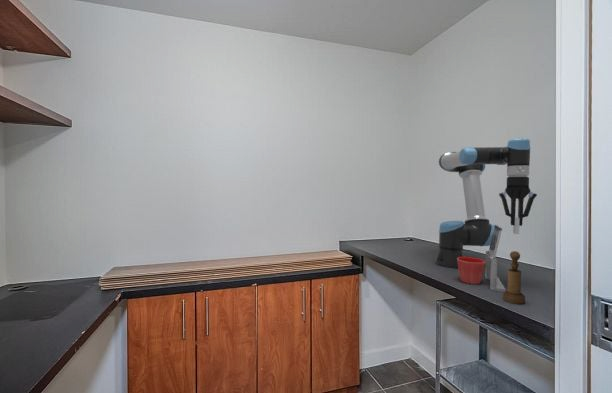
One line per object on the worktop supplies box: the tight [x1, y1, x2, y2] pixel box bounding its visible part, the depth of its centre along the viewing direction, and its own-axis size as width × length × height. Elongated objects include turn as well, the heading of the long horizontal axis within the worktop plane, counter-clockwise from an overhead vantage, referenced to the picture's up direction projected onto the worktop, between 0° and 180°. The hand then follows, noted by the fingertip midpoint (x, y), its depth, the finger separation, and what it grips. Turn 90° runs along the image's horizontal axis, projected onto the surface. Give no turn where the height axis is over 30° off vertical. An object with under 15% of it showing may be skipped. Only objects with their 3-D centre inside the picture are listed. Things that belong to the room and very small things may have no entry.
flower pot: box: [457, 256, 486, 285], centre depth 130 cm, size 11×11×10 cm
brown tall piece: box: [502, 250, 526, 305], centre depth 107 cm, size 7×6×18 cm
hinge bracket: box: [484, 250, 507, 293], centre depth 126 cm, size 19×5×12 cm, turn 155°
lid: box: [487, 224, 503, 259], centre depth 126 cm, size 13×14×2 cm
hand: (516, 233), depth 123 cm, fingers closed
